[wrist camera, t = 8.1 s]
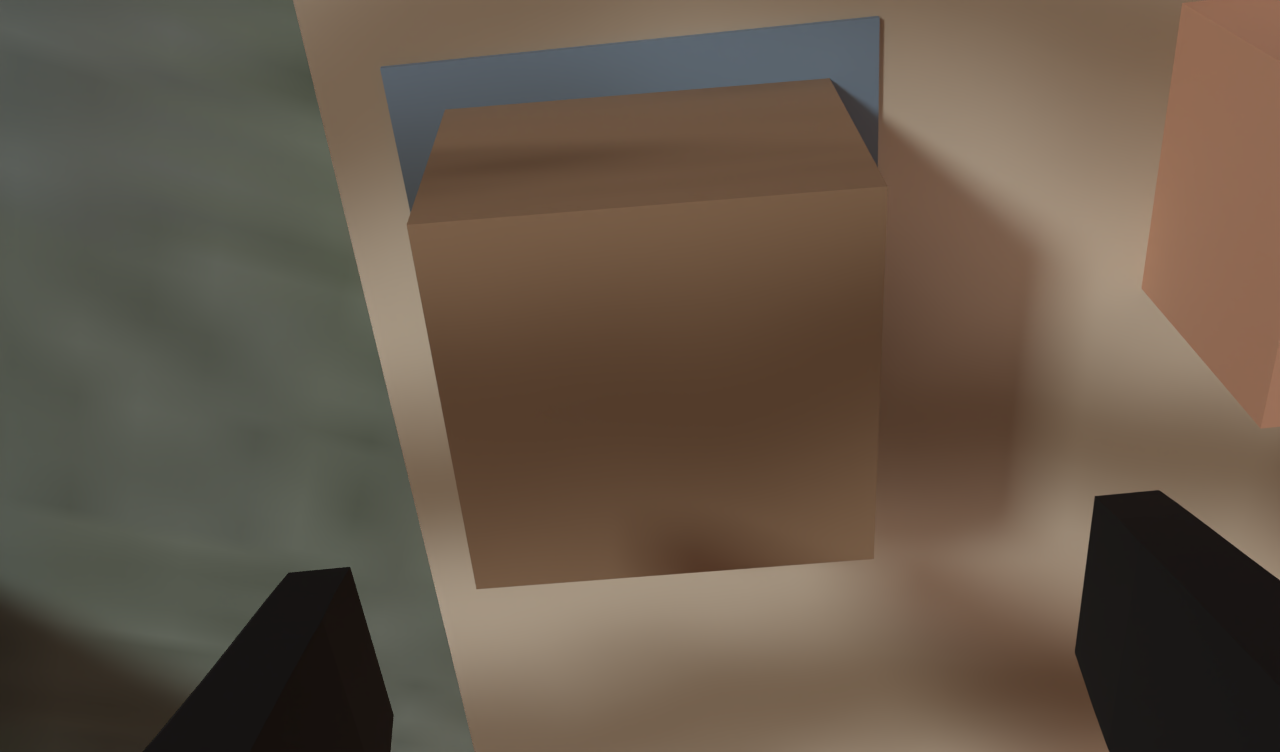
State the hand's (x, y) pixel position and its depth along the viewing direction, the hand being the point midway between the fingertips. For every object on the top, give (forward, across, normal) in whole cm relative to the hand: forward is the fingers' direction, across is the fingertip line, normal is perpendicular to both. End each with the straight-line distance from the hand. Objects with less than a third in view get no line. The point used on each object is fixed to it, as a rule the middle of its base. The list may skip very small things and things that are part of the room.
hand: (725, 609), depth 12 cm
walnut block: (+8, 0, 0) cm, 8 cm away
